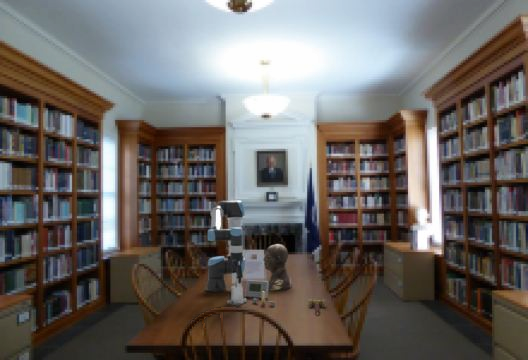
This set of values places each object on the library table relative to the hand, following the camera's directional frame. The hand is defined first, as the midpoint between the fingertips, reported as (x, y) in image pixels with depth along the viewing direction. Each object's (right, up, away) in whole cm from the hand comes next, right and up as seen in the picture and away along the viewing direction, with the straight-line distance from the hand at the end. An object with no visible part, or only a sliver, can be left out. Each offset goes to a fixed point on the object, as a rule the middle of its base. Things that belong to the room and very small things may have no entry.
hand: (236, 285), depth 245 cm
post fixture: (+17, -11, -4) cm, 20 cm away
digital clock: (+13, -12, +14) cm, 22 cm away
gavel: (+48, -10, -18) cm, 53 cm away
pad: (0, -11, -1) cm, 11 cm away
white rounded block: (0, -10, -1) cm, 10 cm away
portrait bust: (+27, -13, +49) cm, 58 cm away
